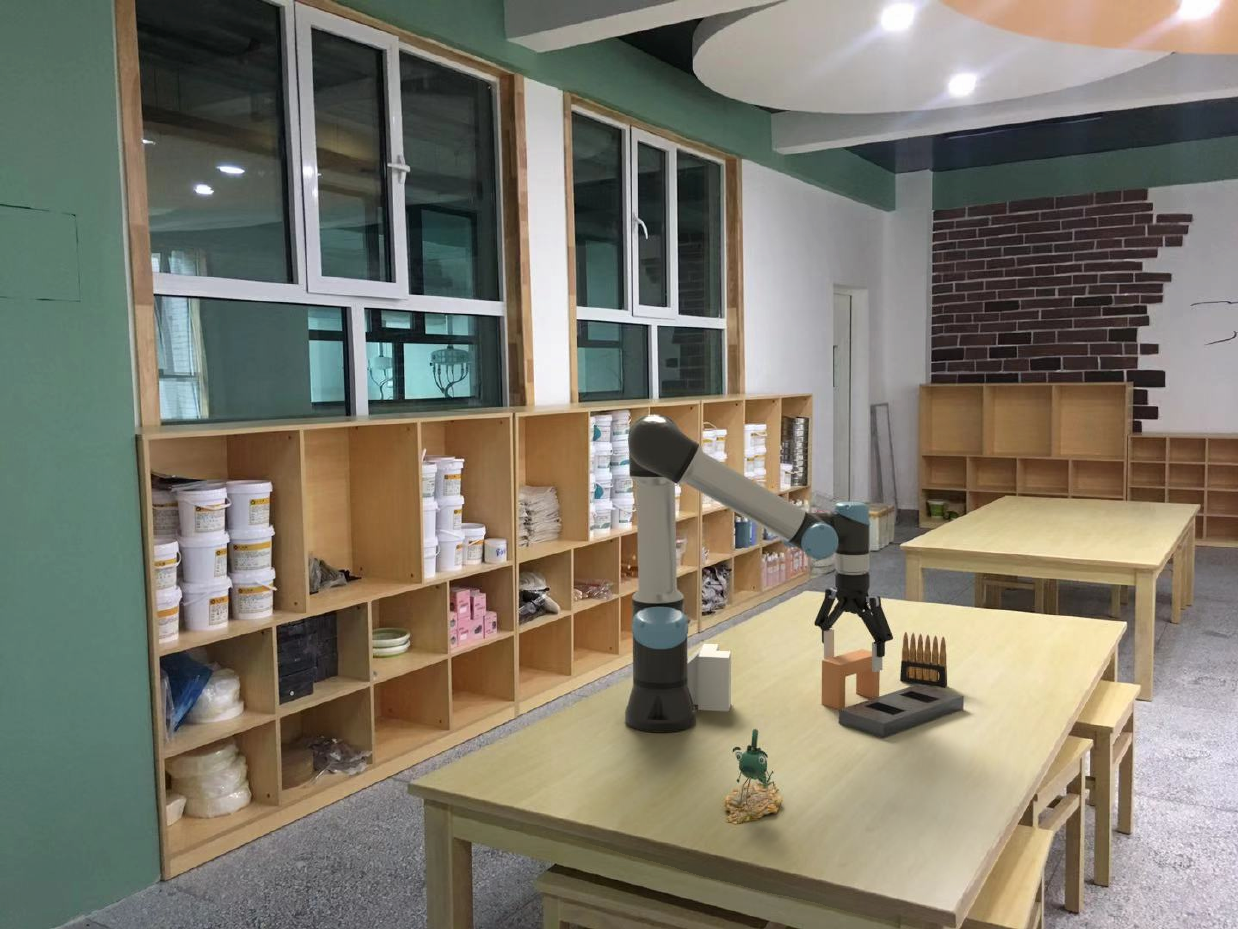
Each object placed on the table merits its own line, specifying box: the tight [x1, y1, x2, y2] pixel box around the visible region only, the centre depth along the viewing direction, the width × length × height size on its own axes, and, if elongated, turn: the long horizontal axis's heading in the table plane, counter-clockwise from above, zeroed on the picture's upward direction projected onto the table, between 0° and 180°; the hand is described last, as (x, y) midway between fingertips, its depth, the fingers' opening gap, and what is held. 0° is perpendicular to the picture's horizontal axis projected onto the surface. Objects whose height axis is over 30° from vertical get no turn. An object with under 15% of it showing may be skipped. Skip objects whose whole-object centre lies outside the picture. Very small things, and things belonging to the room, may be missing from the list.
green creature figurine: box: [723, 728, 784, 825], centre depth 179 cm, size 10×18×15 cm, turn 145°
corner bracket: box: [687, 643, 732, 712], centre depth 235 cm, size 11×11×12 cm
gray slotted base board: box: [838, 684, 965, 739], centre depth 225 cm, size 28×12×3 cm, turn 128°
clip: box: [821, 648, 881, 710], centre depth 235 cm, size 14×5×10 cm, turn 128°
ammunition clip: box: [899, 631, 948, 689], centre depth 247 cm, size 11×2×12 cm, turn 59°
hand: (852, 664), depth 235 cm, fingers open, 13 cm apart
